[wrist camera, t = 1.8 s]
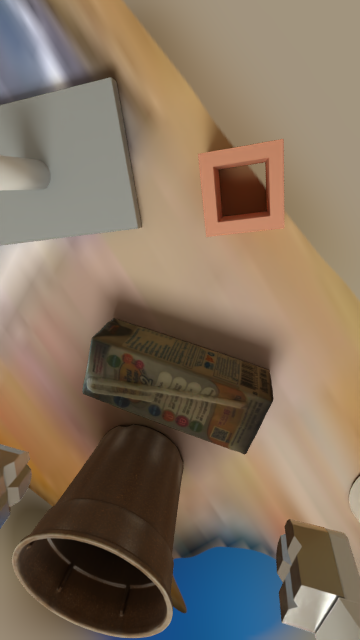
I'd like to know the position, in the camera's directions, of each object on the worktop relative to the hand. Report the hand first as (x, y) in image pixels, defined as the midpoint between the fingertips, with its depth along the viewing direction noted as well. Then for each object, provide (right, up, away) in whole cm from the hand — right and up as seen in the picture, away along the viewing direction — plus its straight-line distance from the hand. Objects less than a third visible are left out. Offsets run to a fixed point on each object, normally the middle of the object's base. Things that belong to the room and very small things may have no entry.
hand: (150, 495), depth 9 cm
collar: (+7, +17, +18) cm, 26 cm away
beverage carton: (+1, 0, +27) cm, 27 cm away
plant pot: (-4, -14, +34) cm, 37 cm away
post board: (-12, +20, +21) cm, 32 cm away
